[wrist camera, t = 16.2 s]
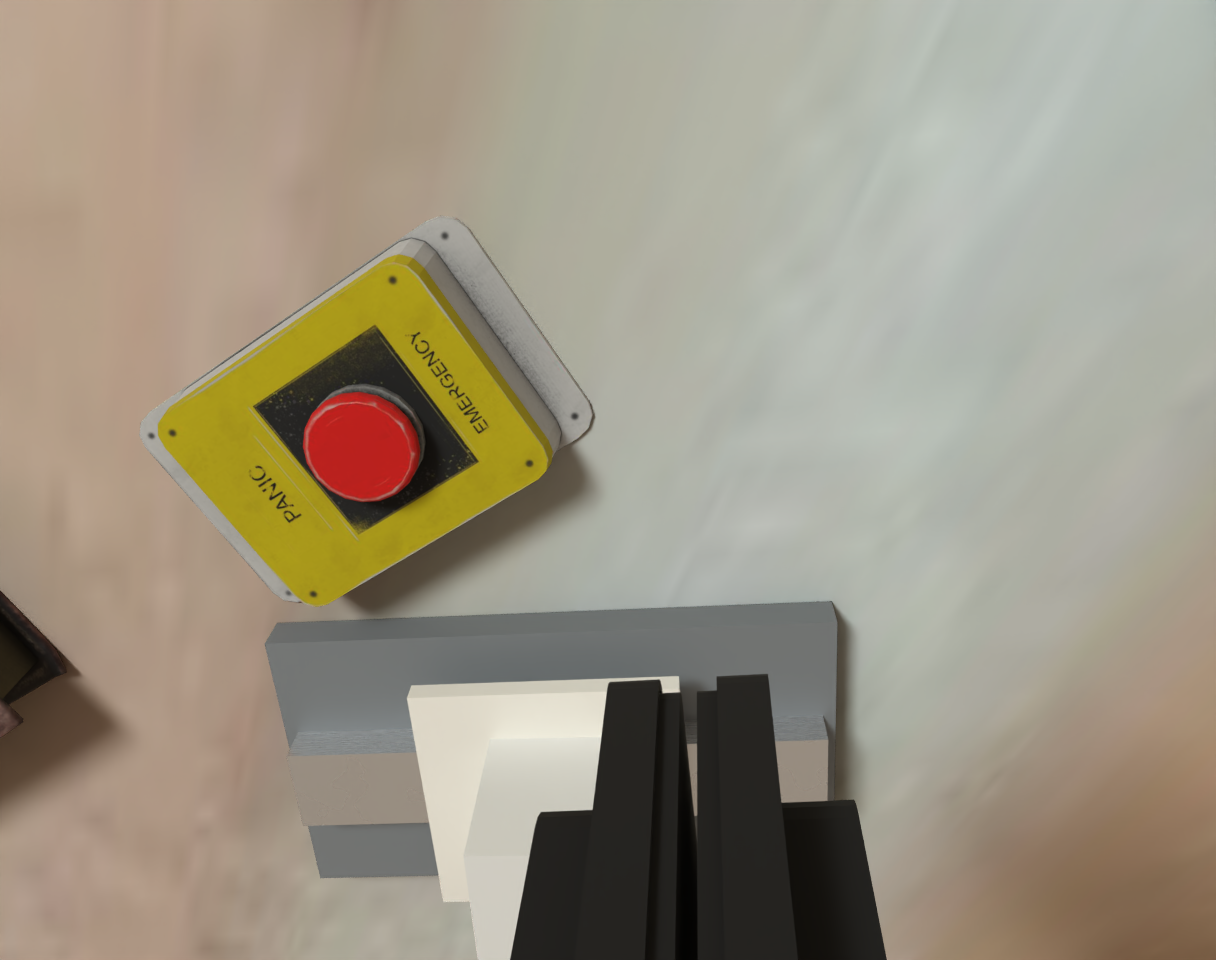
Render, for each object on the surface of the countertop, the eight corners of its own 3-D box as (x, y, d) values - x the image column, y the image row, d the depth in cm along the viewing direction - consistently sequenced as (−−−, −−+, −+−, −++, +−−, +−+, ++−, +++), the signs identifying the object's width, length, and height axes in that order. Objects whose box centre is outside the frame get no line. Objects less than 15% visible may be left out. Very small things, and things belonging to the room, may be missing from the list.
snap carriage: (678, 653, 41) (679, 688, 39) (689, 873, 46) (691, 915, 44) (419, 662, 42) (406, 698, 40) (456, 878, 46) (446, 920, 44)
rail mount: (831, 601, 42) (843, 644, 39) (828, 840, 47) (838, 893, 44) (277, 623, 43) (251, 665, 41) (330, 852, 48) (310, 904, 46)
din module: (610, 736, 40) (602, 855, 35) (618, 863, 43) (612, 992, 37) (489, 738, 40) (463, 856, 35) (505, 864, 43) (482, 992, 38)
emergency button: (598, 464, 36) (257, 664, 40) (604, 416, 40) (293, 602, 44) (429, 225, 33) (77, 468, 37) (453, 200, 37) (134, 421, 41)
